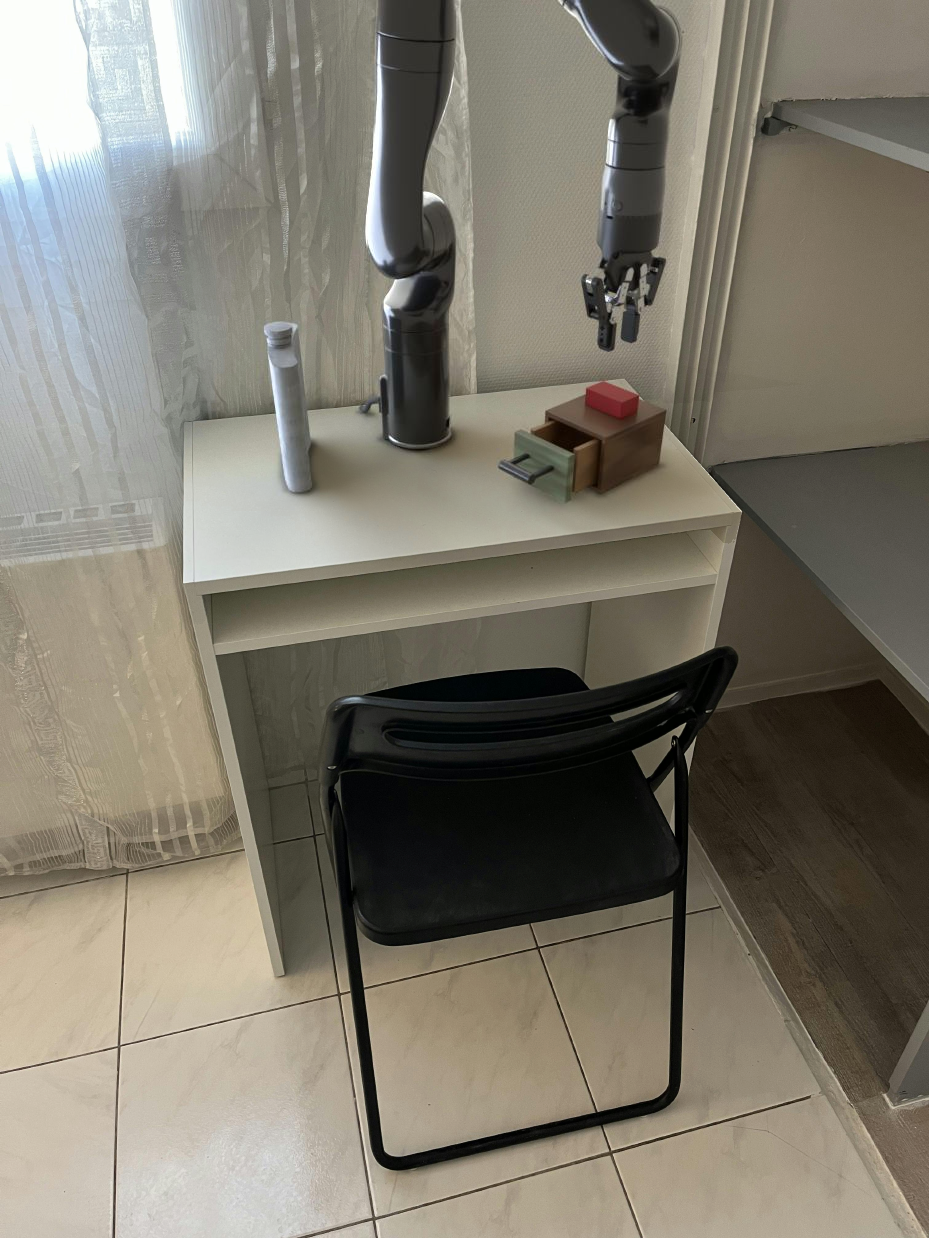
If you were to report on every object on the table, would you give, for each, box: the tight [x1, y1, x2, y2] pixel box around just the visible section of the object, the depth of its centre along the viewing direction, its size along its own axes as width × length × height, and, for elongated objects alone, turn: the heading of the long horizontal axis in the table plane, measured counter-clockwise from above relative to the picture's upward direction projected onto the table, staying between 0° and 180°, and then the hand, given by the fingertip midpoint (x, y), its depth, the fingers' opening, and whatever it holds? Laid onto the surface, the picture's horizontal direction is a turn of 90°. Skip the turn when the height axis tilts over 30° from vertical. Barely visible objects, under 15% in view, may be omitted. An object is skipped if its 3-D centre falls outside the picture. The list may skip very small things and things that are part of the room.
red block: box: [584, 380, 640, 419], centre depth 126 cm, size 6×4×2 cm, turn 42°
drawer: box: [498, 419, 602, 504], centre depth 124 cm, size 16×10×7 cm, turn 132°
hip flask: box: [263, 321, 313, 493], centre depth 126 cm, size 16×4×20 cm, turn 8°
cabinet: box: [544, 394, 667, 495], centre depth 129 cm, size 12×11×8 cm
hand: (617, 344), depth 122 cm, fingers open, 4 cm apart
